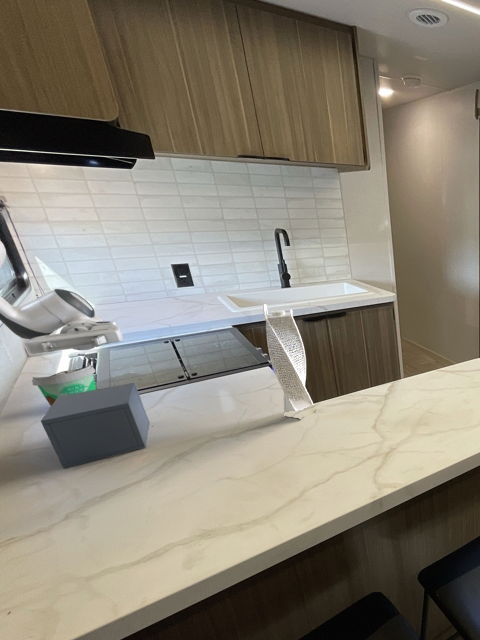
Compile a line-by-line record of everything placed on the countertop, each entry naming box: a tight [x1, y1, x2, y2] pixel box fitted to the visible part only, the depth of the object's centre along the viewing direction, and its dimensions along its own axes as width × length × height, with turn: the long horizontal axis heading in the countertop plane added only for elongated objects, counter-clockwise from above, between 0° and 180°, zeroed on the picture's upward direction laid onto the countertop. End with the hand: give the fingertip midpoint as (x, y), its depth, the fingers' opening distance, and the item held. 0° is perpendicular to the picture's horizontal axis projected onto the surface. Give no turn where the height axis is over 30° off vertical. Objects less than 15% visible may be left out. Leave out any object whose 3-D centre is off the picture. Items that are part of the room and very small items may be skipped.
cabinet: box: [40, 382, 150, 469], centre depth 88 cm, size 15×13×11 cm
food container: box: [31, 362, 98, 407], centre depth 108 cm, size 12×6×10 cm, turn 160°
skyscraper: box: [262, 303, 315, 414], centre depth 97 cm, size 8×8×28 cm
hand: (72, 346), depth 113 cm, fingers open, 8 cm apart
